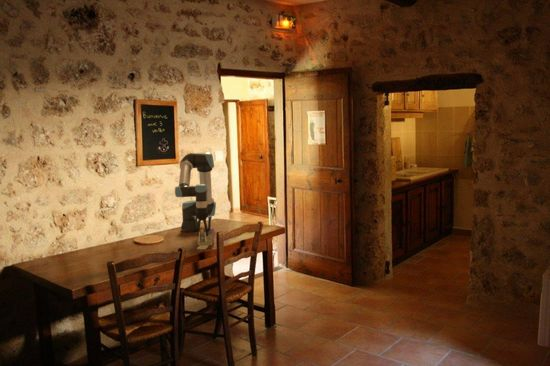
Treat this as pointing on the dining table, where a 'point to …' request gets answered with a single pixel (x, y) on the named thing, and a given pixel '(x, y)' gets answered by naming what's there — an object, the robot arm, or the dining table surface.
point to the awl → (202, 234)
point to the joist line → (202, 246)
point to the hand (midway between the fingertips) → (202, 240)
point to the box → (208, 238)
